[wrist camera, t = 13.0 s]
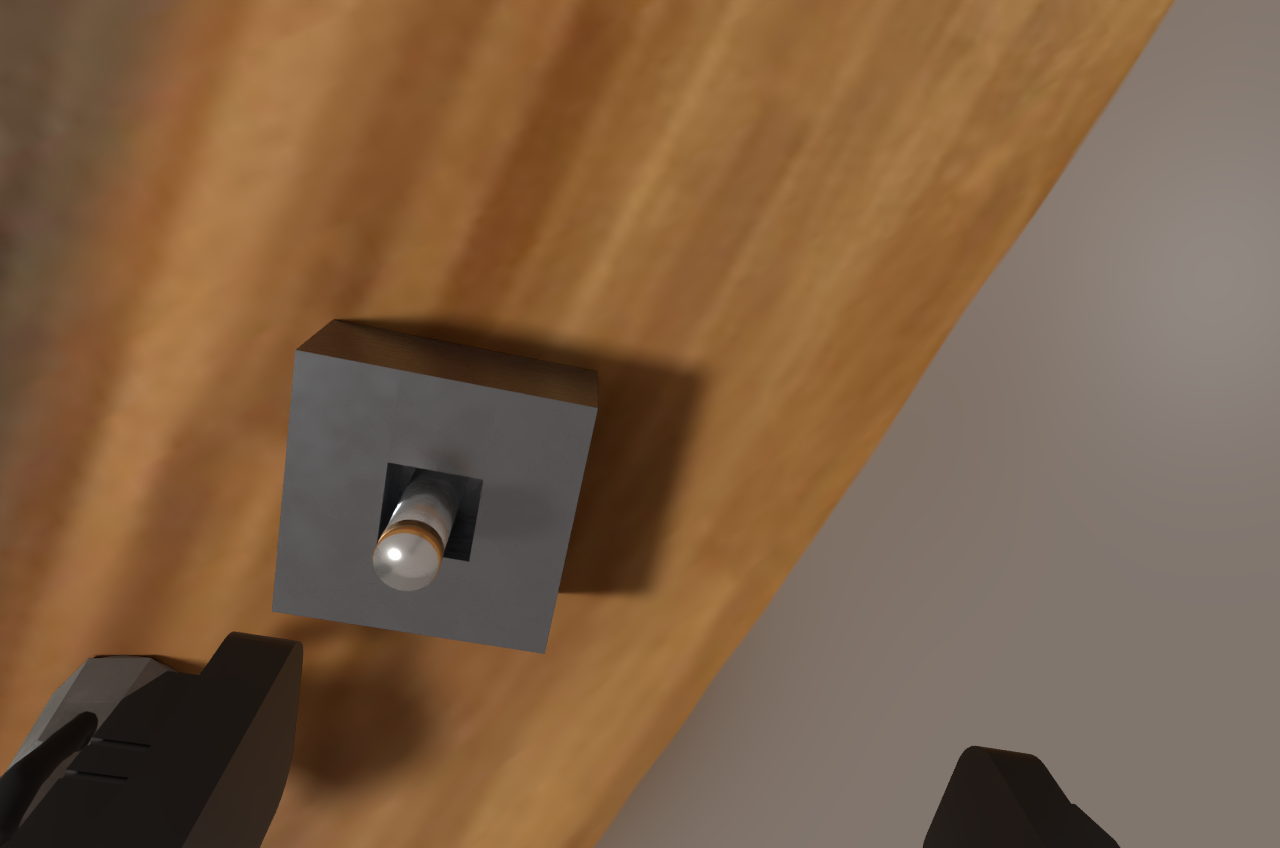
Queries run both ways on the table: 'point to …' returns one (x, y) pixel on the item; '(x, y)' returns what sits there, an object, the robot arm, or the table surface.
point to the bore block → (440, 441)
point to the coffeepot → (67, 731)
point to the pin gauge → (419, 530)
